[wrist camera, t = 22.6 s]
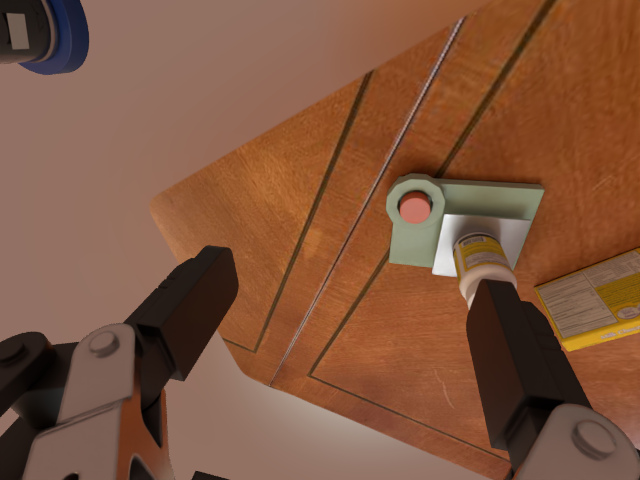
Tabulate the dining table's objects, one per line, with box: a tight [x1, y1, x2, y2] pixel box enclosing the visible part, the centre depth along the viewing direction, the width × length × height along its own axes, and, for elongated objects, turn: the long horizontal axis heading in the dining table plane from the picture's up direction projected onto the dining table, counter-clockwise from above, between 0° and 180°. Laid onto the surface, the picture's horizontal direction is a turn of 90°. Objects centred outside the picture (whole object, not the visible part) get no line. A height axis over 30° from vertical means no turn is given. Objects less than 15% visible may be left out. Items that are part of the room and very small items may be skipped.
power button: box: [400, 192, 431, 224], centre depth 32 cm, size 3×3×2 cm
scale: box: [386, 173, 545, 271], centre depth 35 cm, size 15×12×3 cm
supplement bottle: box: [453, 232, 517, 310], centre depth 30 cm, size 5×5×8 cm
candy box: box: [534, 247, 640, 351], centre depth 31 cm, size 16×2×8 cm, turn 134°
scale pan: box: [432, 213, 531, 277], centre depth 33 cm, size 8×8×1 cm
